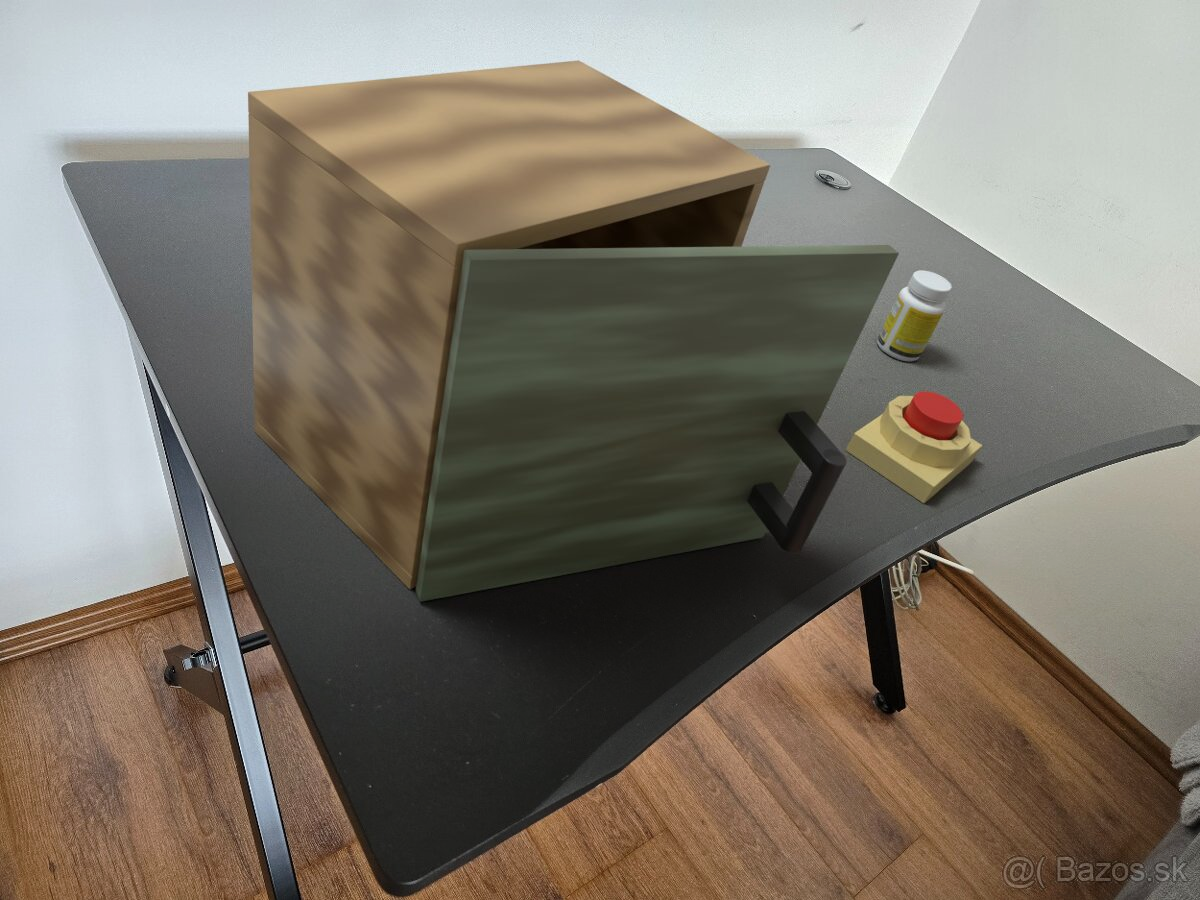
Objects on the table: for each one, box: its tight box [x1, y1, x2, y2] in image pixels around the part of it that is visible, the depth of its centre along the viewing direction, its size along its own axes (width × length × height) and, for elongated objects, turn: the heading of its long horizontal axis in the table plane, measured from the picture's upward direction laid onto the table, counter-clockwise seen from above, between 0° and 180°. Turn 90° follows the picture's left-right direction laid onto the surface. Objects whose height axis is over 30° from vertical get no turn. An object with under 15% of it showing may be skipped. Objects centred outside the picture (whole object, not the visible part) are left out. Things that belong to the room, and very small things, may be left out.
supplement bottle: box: [876, 269, 953, 362], centre depth 94 cm, size 5×5×8 cm
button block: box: [845, 395, 983, 504], centre depth 80 cm, size 10×8×4 cm
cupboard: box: [247, 60, 771, 590], centre depth 62 cm, size 18×26×24 cm
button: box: [904, 390, 964, 440], centre depth 79 cm, size 4×4×2 cm
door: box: [415, 244, 900, 603], centre depth 54 cm, size 6×26×24 cm, turn 114°
